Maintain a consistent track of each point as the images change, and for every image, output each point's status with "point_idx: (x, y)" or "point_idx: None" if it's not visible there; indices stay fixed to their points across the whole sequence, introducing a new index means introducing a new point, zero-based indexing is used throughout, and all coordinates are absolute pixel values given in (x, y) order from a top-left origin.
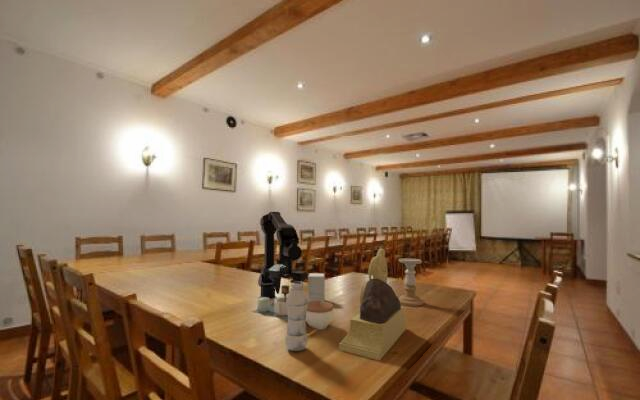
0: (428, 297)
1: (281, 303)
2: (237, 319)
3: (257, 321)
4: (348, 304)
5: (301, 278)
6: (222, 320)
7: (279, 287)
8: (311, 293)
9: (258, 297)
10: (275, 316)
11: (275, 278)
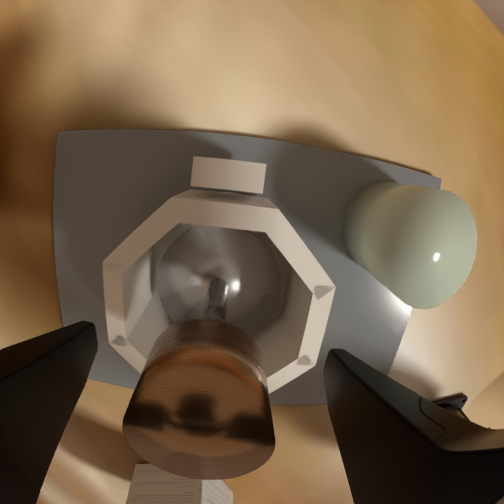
0: None
1: (185, 199)
2: (431, 54)
3: (311, 45)
4: (65, 464)
5: None
6: (468, 34)
7: (341, 431)
8: (181, 501)
9: (467, 397)
10: (231, 148)
11: (464, 500)
